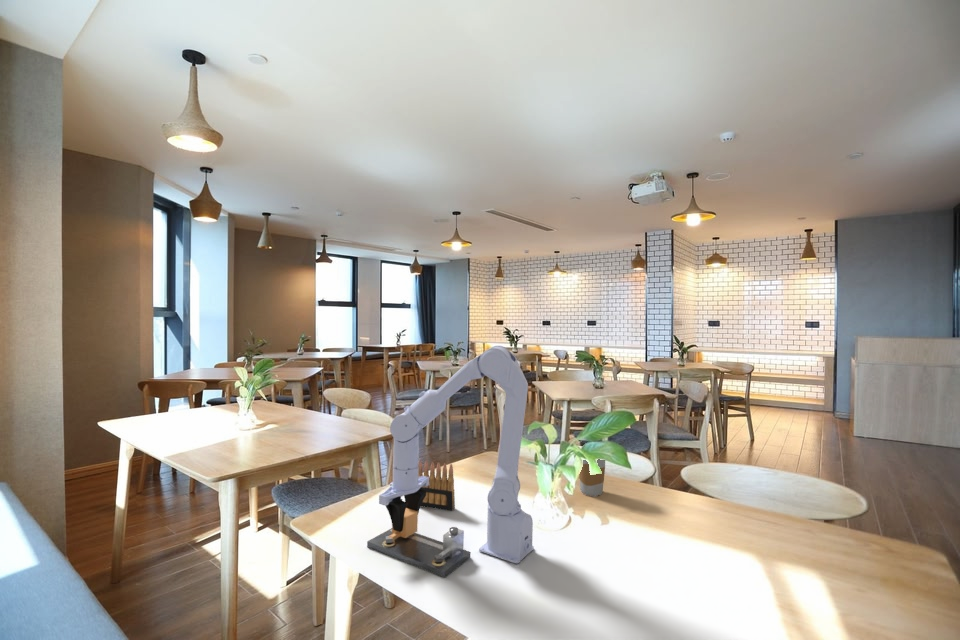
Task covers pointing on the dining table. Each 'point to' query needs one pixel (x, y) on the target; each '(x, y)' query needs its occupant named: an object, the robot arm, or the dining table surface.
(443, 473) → the ammunition clip
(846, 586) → the dining table surface
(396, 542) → the bolt plate
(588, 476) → the coffee cup
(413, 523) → the orange block with rod
